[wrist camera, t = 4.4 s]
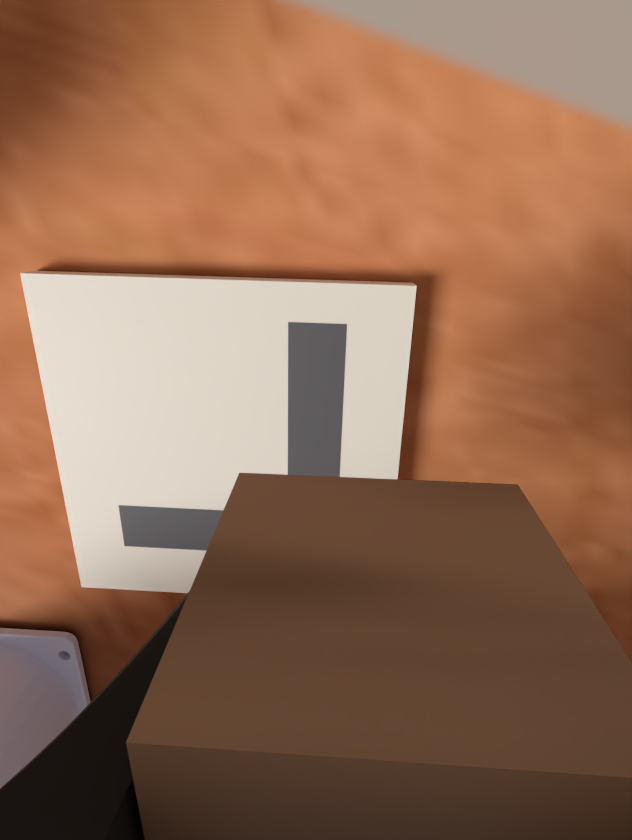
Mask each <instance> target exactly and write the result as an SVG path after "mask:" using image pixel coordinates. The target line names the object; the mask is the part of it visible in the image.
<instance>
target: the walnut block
mask: <svg viewBox="0 0 632 840" xmlns="http://www.w3.org/2000/svg"><path fill="white" fill-rule="evenodd" d="M126 745H127V750H128V756H129V761H130V766H131V771H132V776H133V781H134V786H135V792H136V797H137V802H138V807H139V812H140V817H141V823H142V828H143V833H144V838H145V840H632V662H631V660H630V659H629V657H628V656H627V654H626V653H625V651H624V649H623V648H622V646H621V645H620V643H619V642H618V640H617V639H616V637H615V635H614V634H613V632H612V631H611V629H610V628H609V626H608V625H607V623H606V621H605V620H604V618H603V617H602V615H601V614H600V612H599V611H598V609H597V607H596V606H595V604H594V603H593V601H592V600H591V598H590V596H589V595H588V593H587V592H586V590H585V589H584V587H583V586H582V584H581V582H580V581H579V579H578V578H577V576H576V575H575V573H574V572H573V570H572V568H571V567H570V565H569V564H568V562H567V561H566V559H565V557H564V556H563V554H562V553H561V551H560V550H559V548H558V547H557V545H556V543H555V542H554V540H553V539H552V537H551V536H550V534H549V533H548V531H547V529H546V528H545V526H544V525H543V523H542V522H541V520H540V518H539V517H538V515H537V514H536V512H535V511H534V509H533V508H532V506H531V504H530V503H529V501H528V500H527V498H526V497H525V495H524V494H523V492H522V490H521V489H520V487H519V486H518V485H516V484H492V483H469V482H446V481H423V480H400V479H376V478H353V477H330V476H307V475H283V474H260V473H239V475H238V477H237V480H236V482H235V484H234V487H233V489H232V491H231V494H230V496H229V499H228V501H227V503H226V506H225V508H224V510H223V513H222V515H221V518H220V520H219V522H218V525H217V527H216V529H215V532H214V534H213V537H212V539H211V541H210V544H209V546H208V549H207V551H206V553H205V556H204V558H203V560H202V563H201V565H200V568H199V570H198V572H197V575H196V577H195V579H194V582H193V584H192V587H191V589H190V591H189V594H188V596H187V598H186V601H185V603H184V606H183V608H182V610H181V613H180V615H179V617H178V620H177V622H176V625H175V627H174V629H173V632H172V634H171V637H170V639H169V641H168V644H167V646H166V648H165V651H164V653H163V656H162V658H161V660H160V663H159V665H158V667H157V670H156V672H155V675H154V677H153V679H152V682H151V684H150V686H149V689H148V691H147V694H146V696H145V698H144V701H143V703H142V705H141V708H140V710H139V713H138V715H137V717H136V720H135V722H134V725H133V727H132V729H131V732H130V734H129V736H128V739H127V741H126Z"/></svg>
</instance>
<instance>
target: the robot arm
mask: <svg viewBox="0 0 632 840" xmlns="http://www.w3.org/2000/svg"><path fill="white" fill-rule="evenodd" d="M188 594H189V592H188ZM188 594H187V595H186V596H185V597H184V599H183V600H182V601H181V602H180V604H179V605H178V606H177V607H176V608H175V610H174V611H173V612H172V613H171V614H170V616H169V617H168V618H167V619H166V620H165V622H164V623H163V624H162V625H161V626H160V627H159V629H158V630H157V631H156V632H155V633H154V634H153V636H152V637H151V638H150V639H149V640H148V641H147V642H146V643H145V645H144V646H143V647H142V648H141V649H140V650H139V651H138V652H137V653H136V655H135V656H134V657H133V658H132V659H131V660H130V661H129V662H128V663H127V665H126V666H125V667H124V668H123V669H122V670H121V671H120V672H119V673H118V675H117V676H116V677H115V678H114V679H113V680H112V681H111V682H110V683H109V684H108V685H107V686H106V687H105V688H104V689H103V690H102V691H101V692H100V693H99V694H98V695H97V696H96V697H95V698H94V699H93V700H92V701H91V702H90V697H89V692H88V687H87V683H86V678H85V673H84V668H83V663H82V659H81V654H80V649H79V644H78V641H77V638H76V637H75V636H74V635H73V634H71V633H69V632H61V631H45V630H28V629H12V628H0V840H145V838H144V833H143V828H142V823H141V817H140V812H139V807H138V802H137V797H136V792H135V786H134V781H133V776H132V771H131V766H130V761H129V756H128V750H127V745H126V741H127V739H128V736H129V734H130V732H131V729H132V727H133V725H134V722H135V720H136V717H137V715H138V713H139V710H140V708H141V705H142V703H143V701H144V698H145V696H146V694H147V691H148V689H149V686H150V684H151V682H152V679H153V677H154V675H155V672H156V670H157V667H158V665H159V663H160V660H161V658H162V656H163V653H164V651H165V648H166V646H167V644H168V641H169V639H170V637H171V634H172V632H173V629H174V627H175V625H176V622H177V620H178V617H179V615H180V613H181V610H182V608H183V606H184V603H185V601H186V598H187V596H188Z"/></svg>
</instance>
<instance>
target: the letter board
mask: <svg viewBox="0 0 632 840" xmlns="http://www.w3.org/2000/svg"><path fill="white" fill-rule="evenodd" d="M20 275H21V280H22V285H23V290H24V295H25V300H26V305H27V311H28V316H29V321H30V326H31V331H32V336H33V341H34V346H35V352H36V357H37V362H38V367H39V372H40V377H41V382H42V387H43V392H44V398H45V403H46V408H47V413H48V418H49V423H50V428H51V433H52V438H53V444H54V449H55V454H56V459H57V464H58V469H59V474H60V479H61V484H62V490H63V495H64V500H65V505H66V510H67V515H68V520H69V525H70V531H71V536H72V541H73V546H74V551H75V556H76V561H77V566H78V571H79V577H80V582H81V587H88V588H105V589H123V590H140V591H158V592H175V593H188V592H189V591H190V589H191V587H192V584H193V582H194V579H195V577H196V575H197V572H198V570H199V568H200V565H201V563H202V560H203V558H204V556H205V553H206V551H207V549H208V546H209V544H210V541H211V539H212V537H213V534H214V532H215V529H216V527H217V525H218V522H219V520H220V518H221V515H222V513H223V510H224V508H225V506H226V503H227V501H228V499H229V496H230V494H231V491H232V489H233V487H234V484H235V482H236V480H237V477H238V475H239V473H260V474H283V475H307V476H330V477H353V478H376V479H398V469H399V459H400V449H401V439H402V429H403V419H404V409H405V399H406V389H407V379H408V369H409V359H410V349H411V339H412V329H413V319H414V309H415V298H416V288H417V286H416V285H415V284H414V283H410V282H378V281H347V280H315V279H283V278H251V277H220V276H188V275H156V274H125V273H93V272H61V271H31V272H24V273H20Z"/></svg>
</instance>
